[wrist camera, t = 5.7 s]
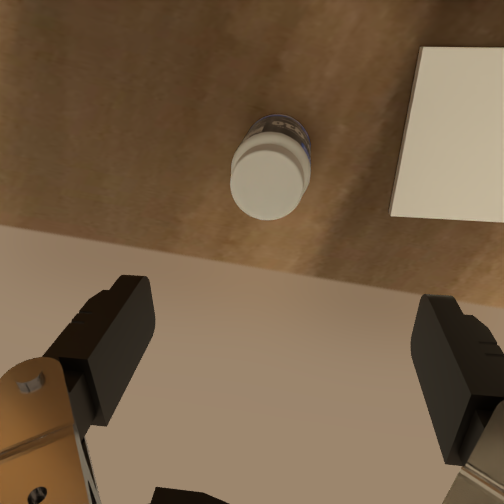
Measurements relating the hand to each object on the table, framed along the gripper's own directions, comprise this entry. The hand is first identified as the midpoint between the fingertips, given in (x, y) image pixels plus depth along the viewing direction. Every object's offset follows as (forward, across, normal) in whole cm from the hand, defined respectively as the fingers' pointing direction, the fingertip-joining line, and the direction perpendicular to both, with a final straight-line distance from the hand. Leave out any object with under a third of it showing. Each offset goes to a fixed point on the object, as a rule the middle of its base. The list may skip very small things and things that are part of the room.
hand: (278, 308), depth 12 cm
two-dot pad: (+19, -13, -1) cm, 23 cm away
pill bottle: (+19, +1, 0) cm, 19 cm away
